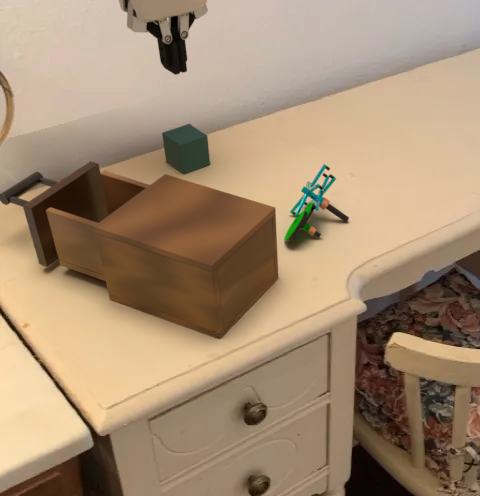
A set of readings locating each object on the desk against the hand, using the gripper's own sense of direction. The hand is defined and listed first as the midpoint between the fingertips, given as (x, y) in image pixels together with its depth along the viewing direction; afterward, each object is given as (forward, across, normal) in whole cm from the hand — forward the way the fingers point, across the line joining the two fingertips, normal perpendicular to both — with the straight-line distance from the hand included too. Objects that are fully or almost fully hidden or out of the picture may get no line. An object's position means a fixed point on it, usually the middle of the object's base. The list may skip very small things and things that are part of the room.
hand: (175, 69), depth 107 cm
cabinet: (+13, +15, +25) cm, 32 cm away
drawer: (+12, +20, +12) cm, 27 cm away
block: (+13, 0, 0) cm, 14 cm away
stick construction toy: (+14, -4, +23) cm, 27 cm away
